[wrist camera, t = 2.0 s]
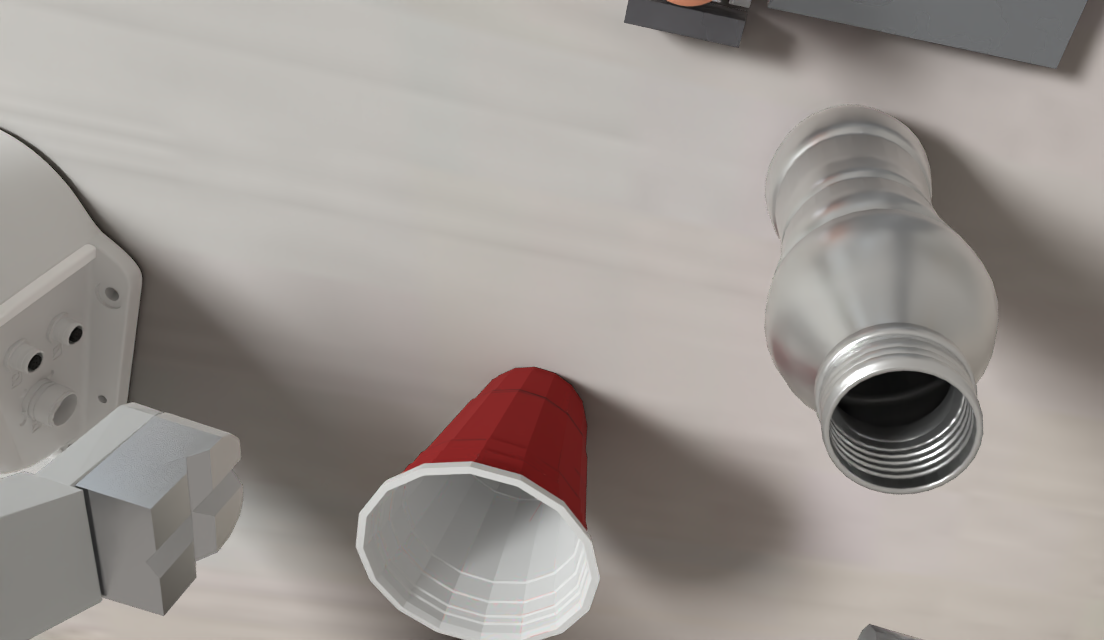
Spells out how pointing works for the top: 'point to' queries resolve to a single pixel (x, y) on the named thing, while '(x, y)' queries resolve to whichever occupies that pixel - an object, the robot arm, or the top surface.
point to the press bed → (961, 23)
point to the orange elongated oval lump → (691, 2)
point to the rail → (691, 19)
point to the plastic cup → (491, 518)
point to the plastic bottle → (876, 302)
